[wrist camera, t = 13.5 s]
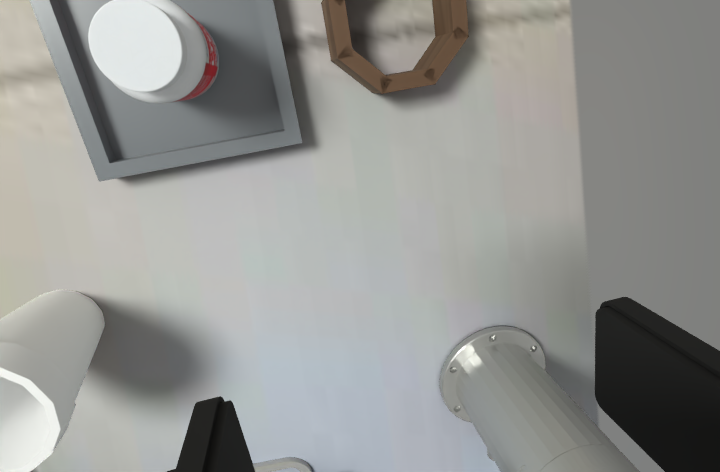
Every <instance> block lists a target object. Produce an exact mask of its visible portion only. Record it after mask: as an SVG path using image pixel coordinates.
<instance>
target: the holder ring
mask: <svg viewBox="0 0 720 472" xmlns="http://www.w3.org/2000/svg"><path fill="white" fill-rule="evenodd" d="M432 2H433V14H434V25H435V36H436V37H435V38H434V40H433V41H432V43H431V44H430V46H429V47H428V49H427V50H426V51H425V53H424V54H423V56H422V57H421V59H420V60H419V62H418V63H417V65H416V66H415V67H414V69H413V70H412V71H406V72H400V73H395V74H389V75H384V74H383V73H382V72H381V71H379V70H378V69H377V68H376V67H374V66H373V65H372V64H371V63H369V62H368V61H367V60H366V59H364V58H363V57H362V56H361V55H360V54H358V53H357V52H356V51H355V50H353V49H352V44H351V37H350V31H349V24H348V18H347V11H346V5H345V0H323V1H322V2H321V4H322V9H323V15H324V21H325V27H326V33H327V39H328V45H329V50H330V56H331V61H332V62H334V63H335V64H336V65H337V66H339V67H340V68H341V69H343V70H344V71H345V72H346V73H348V74H349V75H350V76H352V77H353V78H354V79H355V80H357V81H358V82H359V83H361V84H362V85H363V86H364V87H366V88H367V89H368V90H370V91H371V92H372V93H380V94H383V93H388V92H394V91H399V90H405V89H411V88H416V87H422V86H427V85H435V84H436V82H437V81H438V79H439V78H440V76H441V75H442V73H443V72H444V71H445V69H446V68H447V66H448V65H449V64H450V62H451V61H452V59H453V58H454V56H455V55H456V54H457V52H458V51H459V49H460V48H461V46H462V45H463V44H464V42H465V41H466V39H467V38H468V37H469V36H468V20H467V5H466V0H432Z"/></svg>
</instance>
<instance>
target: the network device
mask: <svg viewBox="0 0 720 472" xmlns="http://www.w3.org/2000/svg"><path fill="white" fill-rule="evenodd" d="M253 466H254V469H255V472H271V471H276V470H281V469H286V468H296V469H298V470H299V471H300V472H312V470H311V467H310V466H309V464H308V463H306V462H305V461H304V460H302V459H299V458H295V457H286V458H280V459H275V460H270V461H265V462H260V463H256V464H253Z"/></svg>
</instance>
